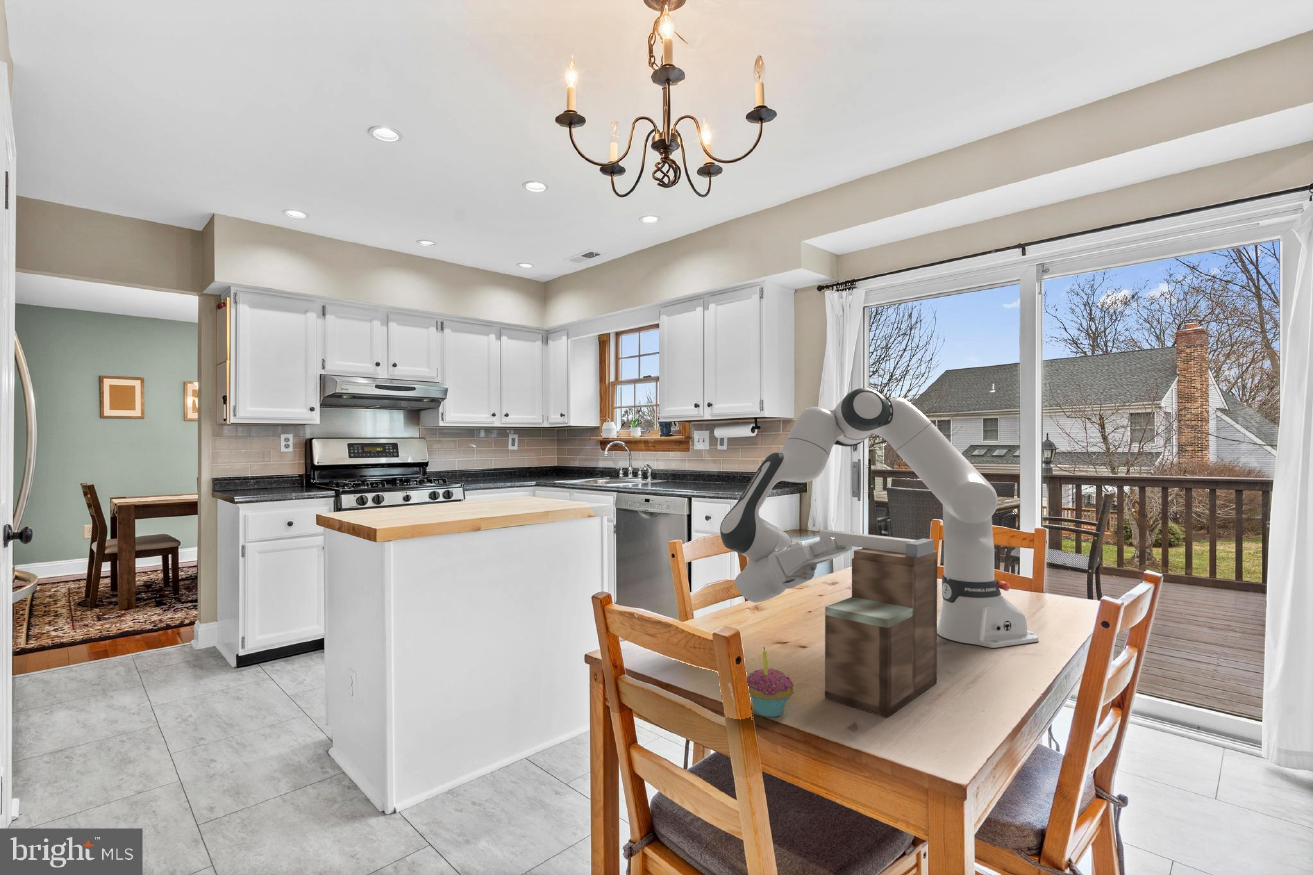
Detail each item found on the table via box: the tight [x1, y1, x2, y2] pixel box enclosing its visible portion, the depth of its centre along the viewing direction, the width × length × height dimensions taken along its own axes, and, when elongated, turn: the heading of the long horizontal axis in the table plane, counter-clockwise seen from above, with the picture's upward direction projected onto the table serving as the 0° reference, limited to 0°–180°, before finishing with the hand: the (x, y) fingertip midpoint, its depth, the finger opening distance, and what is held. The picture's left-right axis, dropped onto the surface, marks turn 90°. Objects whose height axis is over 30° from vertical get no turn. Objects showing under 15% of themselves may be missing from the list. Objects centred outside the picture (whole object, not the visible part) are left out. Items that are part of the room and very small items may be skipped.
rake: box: [819, 529, 935, 558], centre depth 133 cm, size 22×8×2 cm, turn 46°
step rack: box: [824, 548, 938, 719], centre depth 126 cm, size 12×22×26 cm, turn 136°
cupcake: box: [746, 646, 794, 718], centre depth 117 cm, size 9×8×12 cm
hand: (845, 537), depth 137 cm, fingers open, 8 cm apart
